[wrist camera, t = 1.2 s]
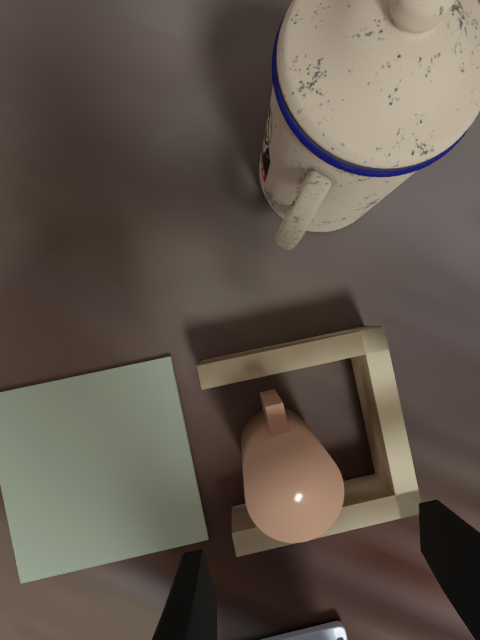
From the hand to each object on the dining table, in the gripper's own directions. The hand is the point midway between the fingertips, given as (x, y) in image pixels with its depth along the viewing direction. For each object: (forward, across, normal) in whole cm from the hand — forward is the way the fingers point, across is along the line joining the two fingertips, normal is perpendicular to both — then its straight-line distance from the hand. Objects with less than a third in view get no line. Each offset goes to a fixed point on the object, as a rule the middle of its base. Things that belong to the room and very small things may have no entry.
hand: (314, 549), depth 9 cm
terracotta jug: (+10, 0, +4) cm, 11 cm away
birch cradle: (+10, -2, +3) cm, 11 cm away
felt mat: (+10, +13, +3) cm, 16 cm away
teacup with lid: (+15, -6, -12) cm, 20 cm away
